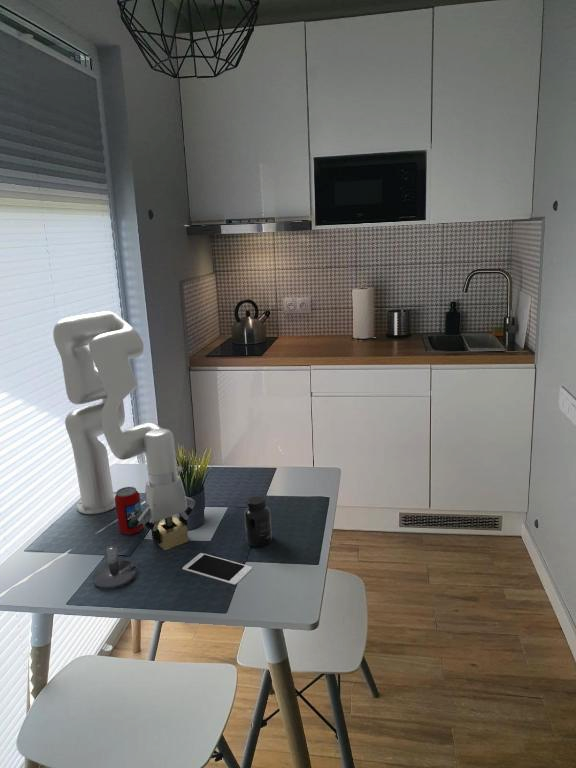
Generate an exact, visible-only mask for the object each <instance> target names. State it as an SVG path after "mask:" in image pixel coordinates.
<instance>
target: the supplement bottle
mask: <svg viewBox="0 0 576 768" xmlns="http://www.w3.org/2000/svg"><path fill="white" fill-rule="evenodd" d="M246 502H247V503H246V505H247V506H246V507H247V508H246V509H245V510H244V515H243V516H244V528H245V538H246V543H247V544H248V545H249V546H251V547H256V548H258V547H259V548H262V547H265V546H267V545H269V544H270V543H271V542H272V539H273V536H272V535H273V534H272V533H273V532H272V519H271V517H272V516H271V510H270V508H269V506H267V501H266V497H264V496H261V495H254V496H251V497H248V499H247V501H246Z"/></svg>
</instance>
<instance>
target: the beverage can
mask: <svg viewBox="0 0 576 768" xmlns="http://www.w3.org/2000/svg"><path fill="white" fill-rule="evenodd" d="M115 494H116V496H115V505H116V507H115V512H116V518H117V524H118V530H119V532H121V534H125V535H133V534H136V533H139V532H140V531H142V529H143V528H144V526H145V525H143V524H142V523H140V522H139V521H138V518H139V517H140V516H141V515H142V513H143V511H142V510H143V509H142V503H141V496H140V493H139V491H138V490H137V488H136V487H134V486H125V487H122V488H119V489H118V490H117V491H116V492H115Z"/></svg>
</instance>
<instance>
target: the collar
mask: <svg viewBox="0 0 576 768" xmlns="http://www.w3.org/2000/svg"><path fill="white" fill-rule="evenodd" d="M172 520H173V528H171V529H168V530H166V526H165V520H161V521H160V522H159V525H158V529H159V531H160V540H161V543H160V544H158V543H157V542H156V541H154V542H155V543H156V544H157V545H158V546H159V547H161V548H162V549H163V551H167V550H170V549H172V548H175V547H178V546H180V545H182V544H185V543H187V542H189V541H190V540H189V532H188V529H187V526H186V525H185V524H184V523H182V522H181V521H180V520H179V517H177V516H172Z"/></svg>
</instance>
